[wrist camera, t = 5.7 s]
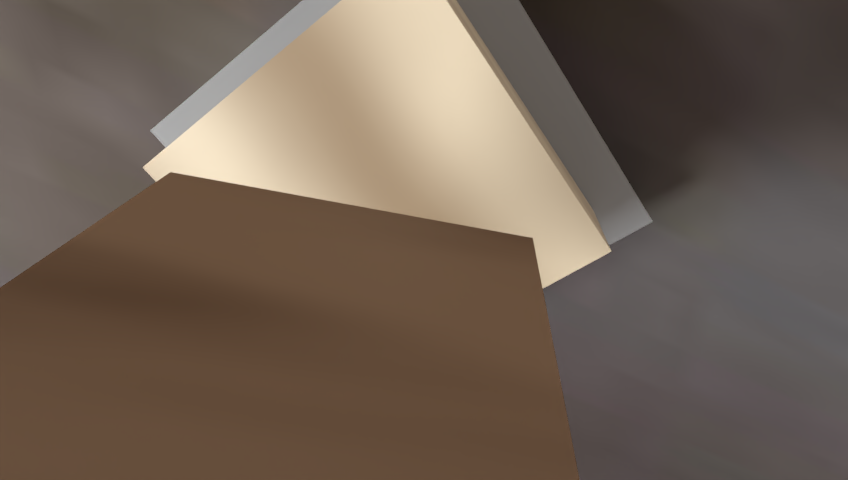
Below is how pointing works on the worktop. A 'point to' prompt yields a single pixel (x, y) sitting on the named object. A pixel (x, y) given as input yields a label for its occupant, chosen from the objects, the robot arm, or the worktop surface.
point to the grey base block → (522, 65)
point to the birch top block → (396, 131)
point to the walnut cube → (279, 347)
